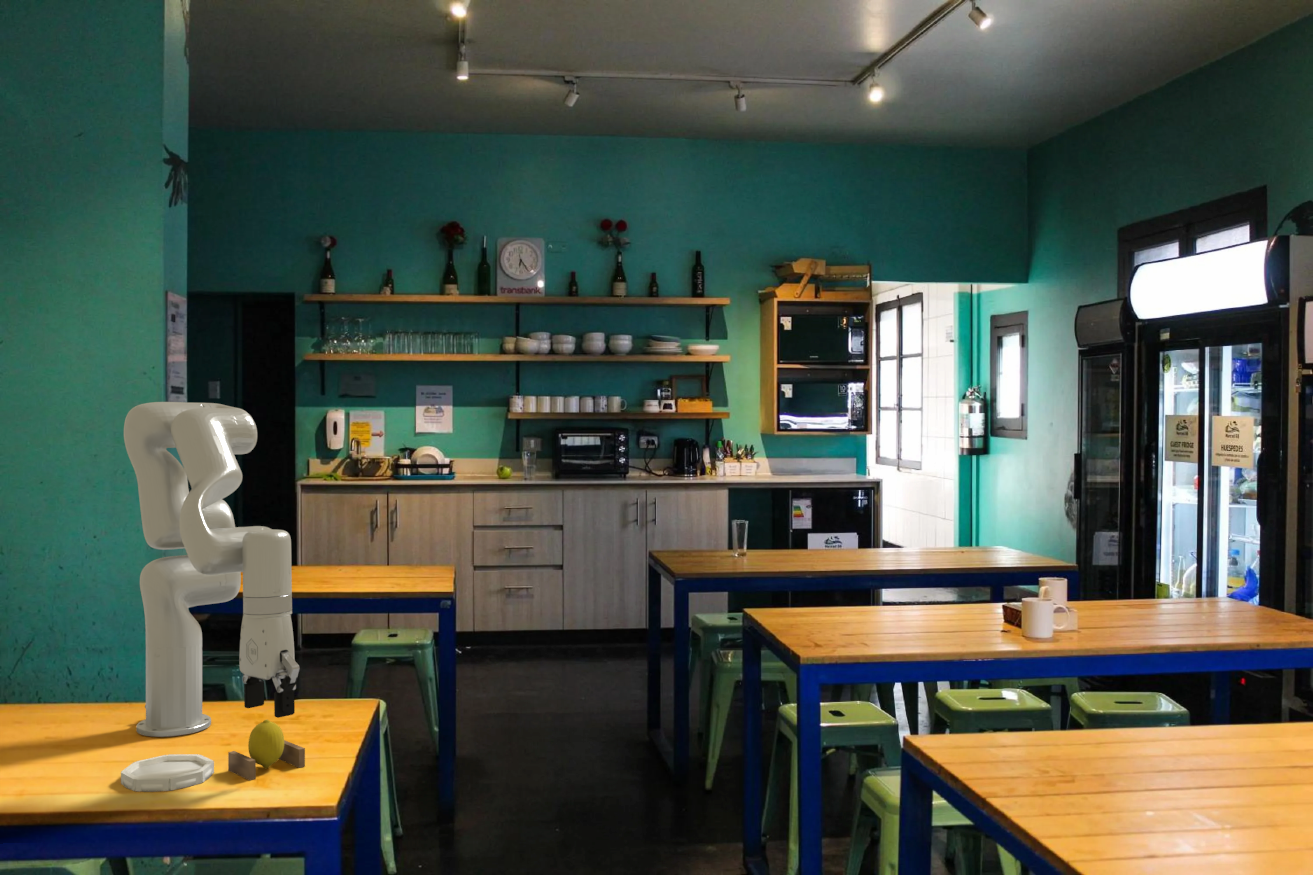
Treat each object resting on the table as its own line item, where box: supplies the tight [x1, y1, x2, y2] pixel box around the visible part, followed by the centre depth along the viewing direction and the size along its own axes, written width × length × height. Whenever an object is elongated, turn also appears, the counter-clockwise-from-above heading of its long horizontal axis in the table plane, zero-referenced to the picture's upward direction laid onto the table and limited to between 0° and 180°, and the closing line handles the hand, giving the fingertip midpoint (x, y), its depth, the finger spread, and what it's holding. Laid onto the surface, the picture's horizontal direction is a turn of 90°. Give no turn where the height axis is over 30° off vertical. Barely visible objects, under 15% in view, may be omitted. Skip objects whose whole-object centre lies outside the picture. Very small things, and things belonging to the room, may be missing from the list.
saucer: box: [120, 753, 215, 793], centre depth 174 cm, size 13×13×2 cm
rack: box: [227, 739, 306, 781], centre depth 179 cm, size 7×10×3 cm
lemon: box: [248, 719, 285, 769], centre depth 179 cm, size 6×6×8 cm
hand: (269, 711), depth 179 cm, fingers open, 9 cm apart
